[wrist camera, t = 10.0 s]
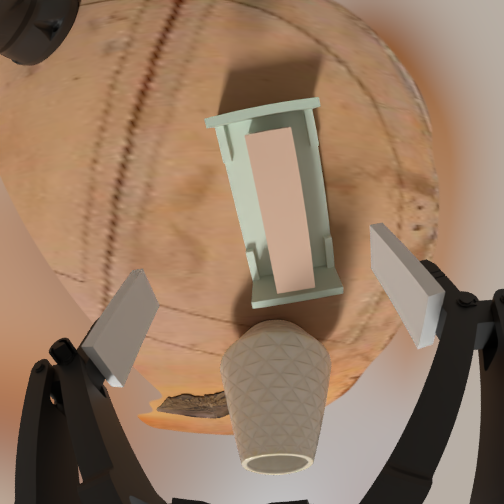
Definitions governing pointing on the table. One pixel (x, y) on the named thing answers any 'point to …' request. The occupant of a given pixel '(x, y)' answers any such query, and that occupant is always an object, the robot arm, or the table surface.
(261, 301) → the tray
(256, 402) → the vase
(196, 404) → the wooden fragment
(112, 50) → the table surface
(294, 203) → the pinkish tan rectangular block
